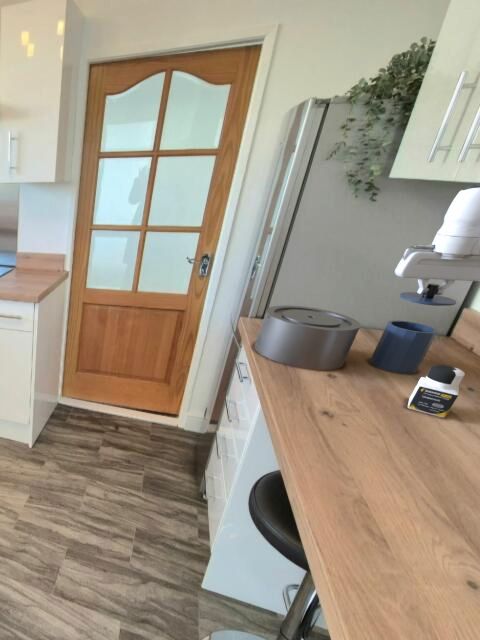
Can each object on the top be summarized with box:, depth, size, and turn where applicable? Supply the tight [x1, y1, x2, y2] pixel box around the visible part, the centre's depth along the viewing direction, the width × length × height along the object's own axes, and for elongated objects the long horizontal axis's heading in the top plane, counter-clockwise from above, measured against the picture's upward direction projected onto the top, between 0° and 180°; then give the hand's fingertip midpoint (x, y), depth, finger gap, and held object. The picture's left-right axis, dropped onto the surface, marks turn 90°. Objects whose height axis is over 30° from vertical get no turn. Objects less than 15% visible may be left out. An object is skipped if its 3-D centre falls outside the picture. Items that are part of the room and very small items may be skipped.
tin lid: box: [398, 282, 457, 307], centre depth 127 cm, size 12×12×5 cm
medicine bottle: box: [407, 364, 465, 419], centre depth 111 cm, size 7×7×12 cm
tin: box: [369, 320, 439, 375], centre depth 135 cm, size 11×11×14 cm
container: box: [254, 305, 361, 371], centre depth 143 cm, size 25×25×13 cm
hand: (429, 294), depth 127 cm, fingers closed on tin lid, 2 cm apart
